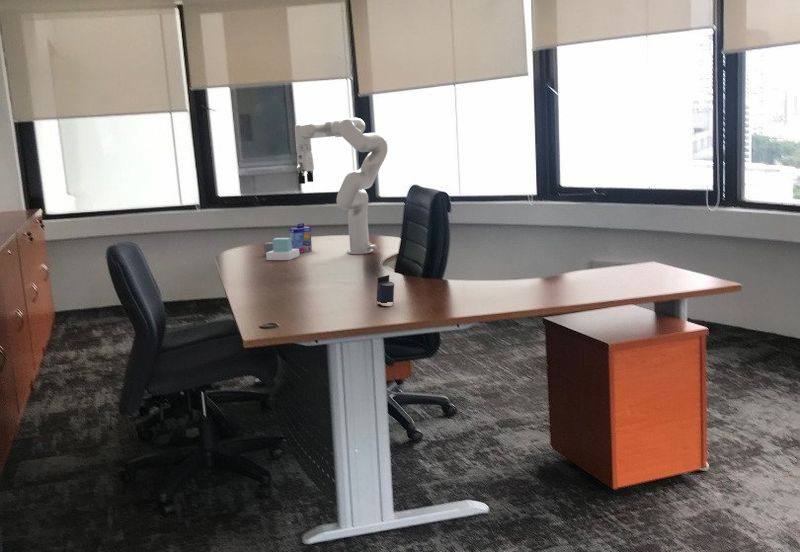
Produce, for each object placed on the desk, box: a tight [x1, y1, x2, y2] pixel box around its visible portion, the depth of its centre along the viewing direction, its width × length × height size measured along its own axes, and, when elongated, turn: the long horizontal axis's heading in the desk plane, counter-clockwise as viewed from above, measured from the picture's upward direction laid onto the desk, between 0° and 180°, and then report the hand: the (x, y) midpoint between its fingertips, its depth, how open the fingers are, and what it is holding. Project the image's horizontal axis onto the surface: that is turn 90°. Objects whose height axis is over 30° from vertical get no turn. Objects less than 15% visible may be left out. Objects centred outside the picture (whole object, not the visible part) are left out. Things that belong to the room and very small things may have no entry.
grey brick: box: [263, 241, 273, 256], centre depth 456 cm, size 8×4×6 cm, turn 71°
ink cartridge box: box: [289, 222, 313, 253], centre depth 460 cm, size 10×6×14 cm, turn 121°
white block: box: [265, 249, 301, 261], centre depth 444 cm, size 12×12×4 cm
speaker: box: [376, 274, 395, 303], centre depth 324 cm, size 8×6×10 cm
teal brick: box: [271, 237, 292, 252], centre depth 443 cm, size 8×4×6 cm, turn 71°
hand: (306, 182), depth 459 cm, fingers open, 9 cm apart
